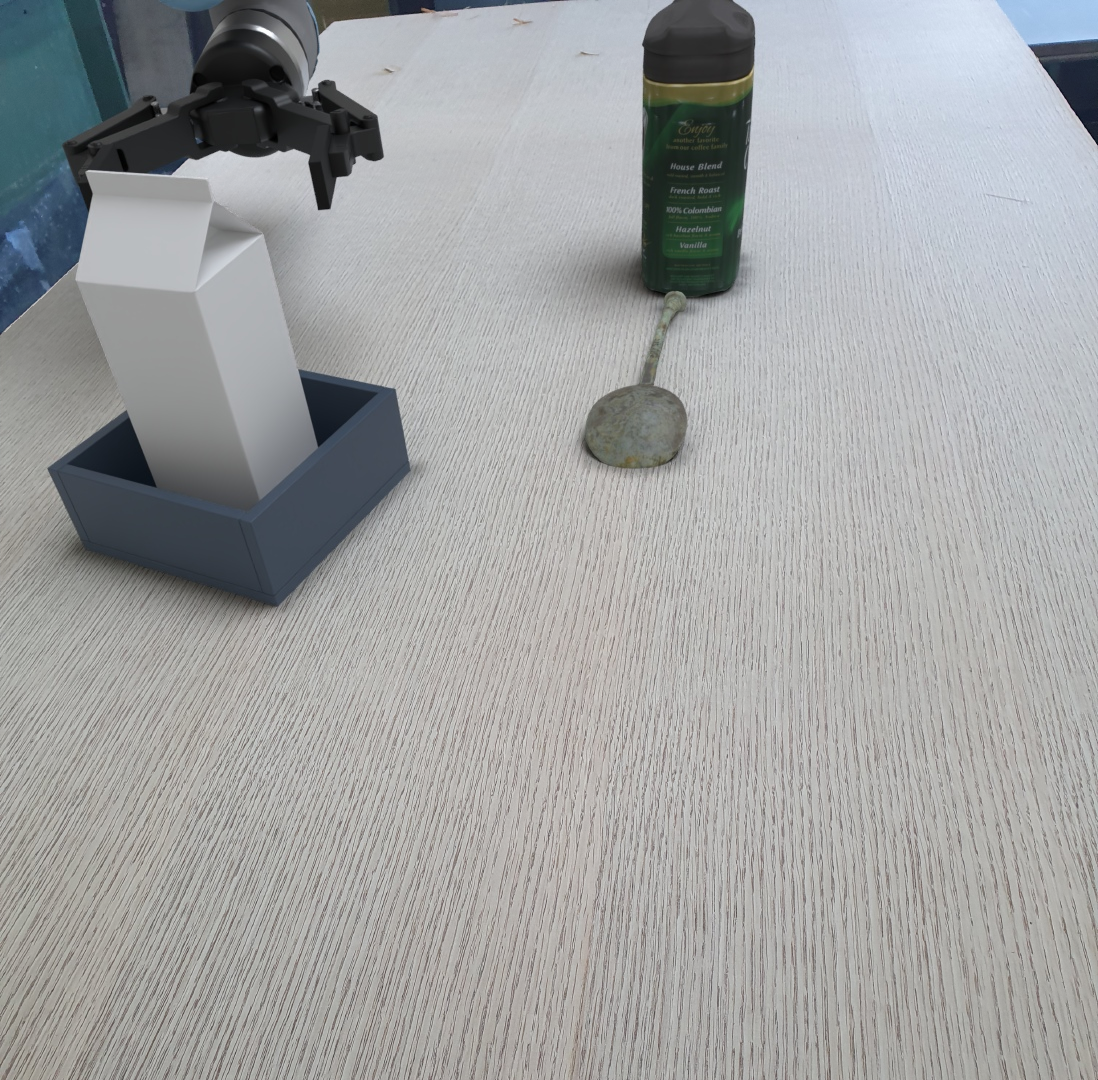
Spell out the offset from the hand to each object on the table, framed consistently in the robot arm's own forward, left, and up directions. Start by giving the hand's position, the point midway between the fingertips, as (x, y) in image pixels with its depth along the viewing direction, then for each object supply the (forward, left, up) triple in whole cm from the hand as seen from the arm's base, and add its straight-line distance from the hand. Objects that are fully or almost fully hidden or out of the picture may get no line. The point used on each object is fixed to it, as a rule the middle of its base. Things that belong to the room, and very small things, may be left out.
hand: (205, 196), depth 64 cm
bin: (+5, -9, -15) cm, 19 cm away
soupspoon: (+23, +14, -15) cm, 31 cm away
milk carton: (+6, -9, -14) cm, 18 cm away
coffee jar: (+19, +31, -15) cm, 39 cm away
